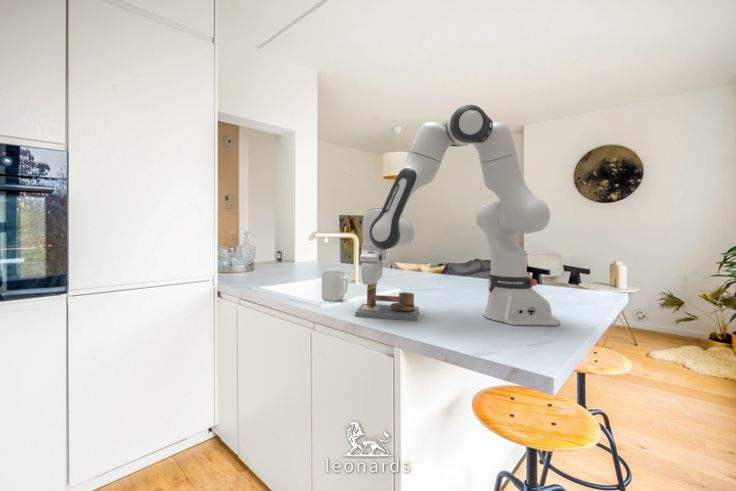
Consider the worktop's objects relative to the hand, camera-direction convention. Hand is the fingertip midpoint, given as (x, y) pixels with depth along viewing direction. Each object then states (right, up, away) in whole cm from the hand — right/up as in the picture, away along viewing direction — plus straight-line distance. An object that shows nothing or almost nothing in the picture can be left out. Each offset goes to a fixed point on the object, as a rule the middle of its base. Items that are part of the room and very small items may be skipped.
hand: (372, 293), depth 123 cm
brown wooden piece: (+6, -4, -5) cm, 9 cm away
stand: (+5, -6, -5) cm, 9 cm away
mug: (-15, -5, +15) cm, 22 cm away
